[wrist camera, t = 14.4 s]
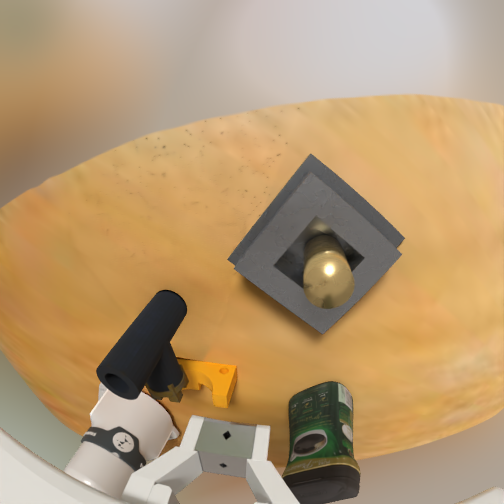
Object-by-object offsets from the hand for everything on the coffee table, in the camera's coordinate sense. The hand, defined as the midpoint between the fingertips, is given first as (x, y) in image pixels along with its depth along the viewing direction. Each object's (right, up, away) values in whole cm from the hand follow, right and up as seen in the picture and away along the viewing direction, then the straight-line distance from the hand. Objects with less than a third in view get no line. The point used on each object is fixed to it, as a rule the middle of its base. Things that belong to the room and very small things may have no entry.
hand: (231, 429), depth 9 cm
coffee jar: (+12, -16, +30) cm, 36 cm away
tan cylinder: (+9, +7, +21) cm, 24 cm away
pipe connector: (-10, -3, +29) cm, 31 cm away
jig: (+8, +7, +22) cm, 24 cm away
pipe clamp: (-7, -11, +32) cm, 34 cm away
